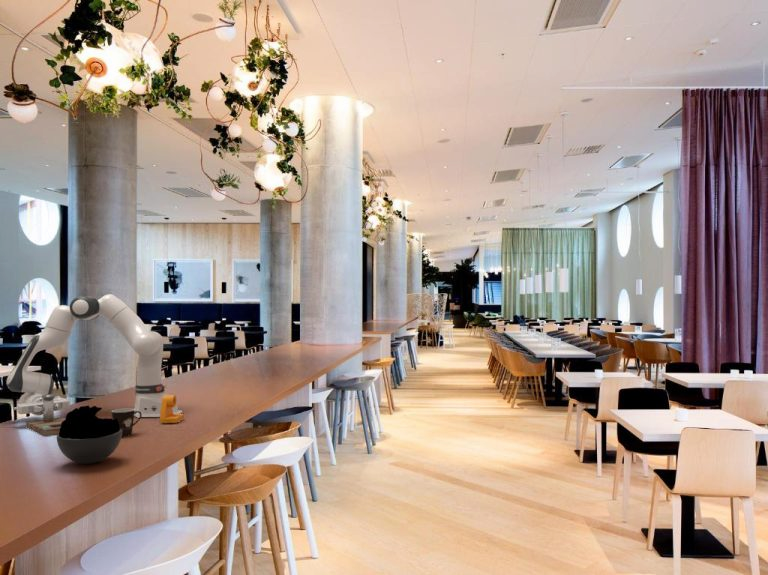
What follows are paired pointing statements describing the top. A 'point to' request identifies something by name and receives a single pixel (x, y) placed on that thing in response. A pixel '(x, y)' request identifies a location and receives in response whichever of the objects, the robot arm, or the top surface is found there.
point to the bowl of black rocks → (88, 435)
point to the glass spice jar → (48, 407)
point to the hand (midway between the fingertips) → (49, 408)
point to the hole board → (46, 426)
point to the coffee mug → (125, 419)
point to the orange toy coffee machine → (169, 410)
